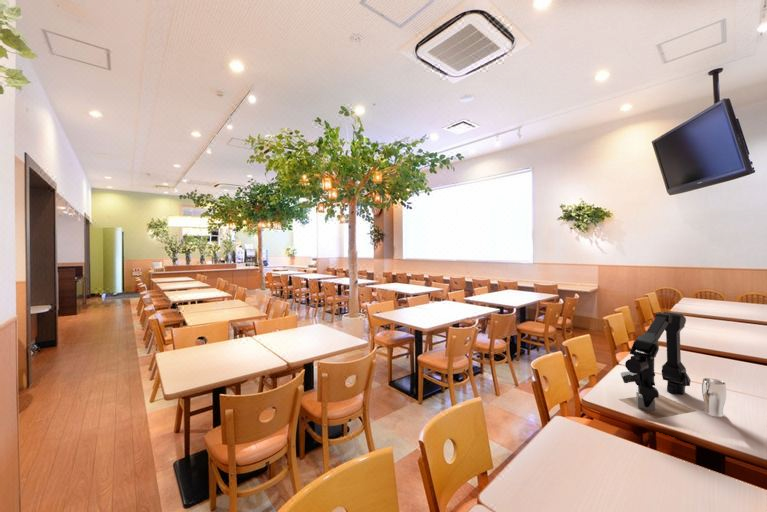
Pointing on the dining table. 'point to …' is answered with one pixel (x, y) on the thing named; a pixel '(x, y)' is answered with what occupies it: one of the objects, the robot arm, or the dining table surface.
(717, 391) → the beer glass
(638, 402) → the grey block
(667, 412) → the board
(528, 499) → the dining table surface
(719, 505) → the dining table surface
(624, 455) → the dining table surface
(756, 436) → the dining table surface
